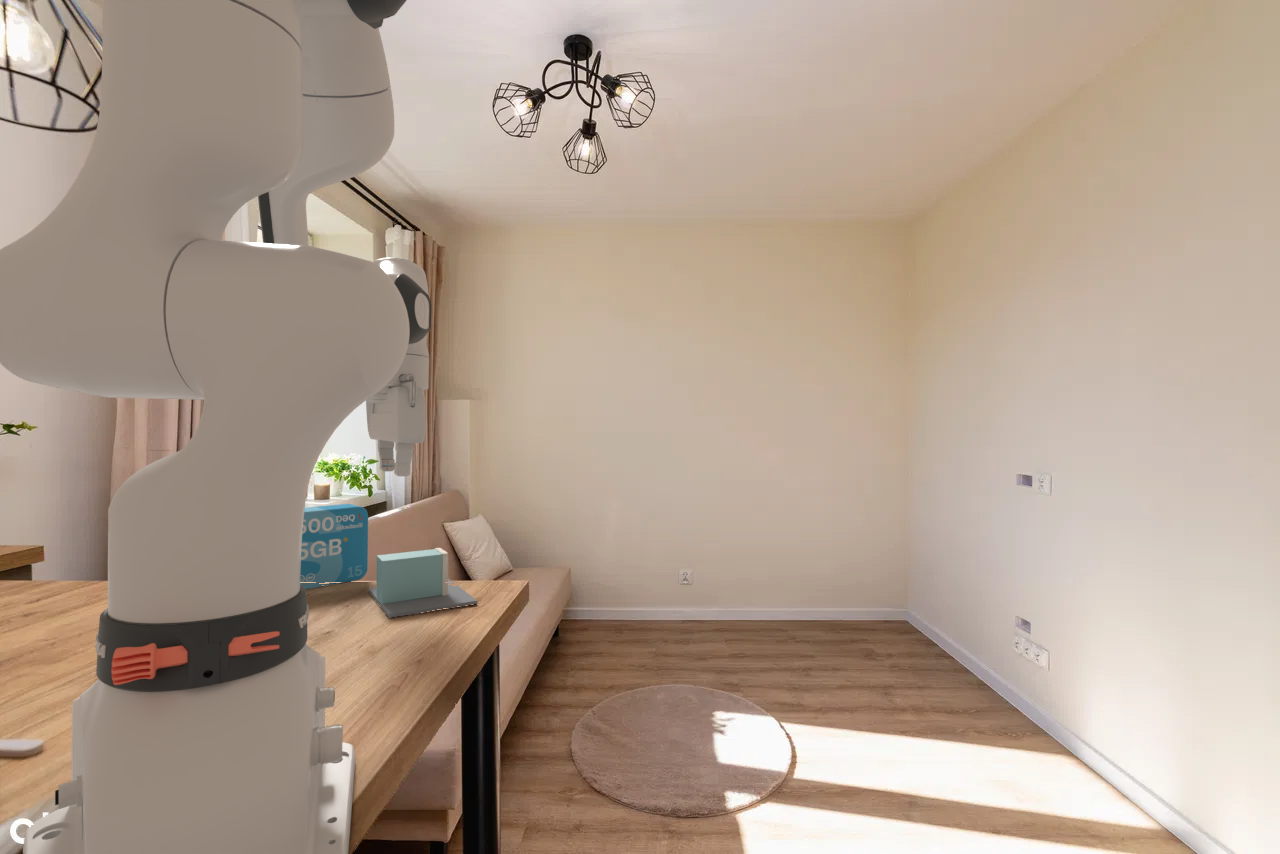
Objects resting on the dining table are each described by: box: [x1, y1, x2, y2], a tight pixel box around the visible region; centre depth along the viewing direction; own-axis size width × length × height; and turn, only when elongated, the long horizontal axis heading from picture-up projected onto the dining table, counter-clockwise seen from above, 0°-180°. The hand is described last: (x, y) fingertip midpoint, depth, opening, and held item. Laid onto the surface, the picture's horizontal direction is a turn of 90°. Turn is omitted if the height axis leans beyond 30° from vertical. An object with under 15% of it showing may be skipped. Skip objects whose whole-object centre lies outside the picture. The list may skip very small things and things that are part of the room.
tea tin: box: [376, 547, 449, 604], centre depth 91 cm, size 4×6×9 cm
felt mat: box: [368, 577, 478, 619], centre depth 92 cm, size 14×12×1 cm
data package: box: [300, 503, 369, 591], centre depth 99 cm, size 12×4×12 cm, turn 139°
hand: (394, 473), depth 89 cm, fingers open, 8 cm apart
